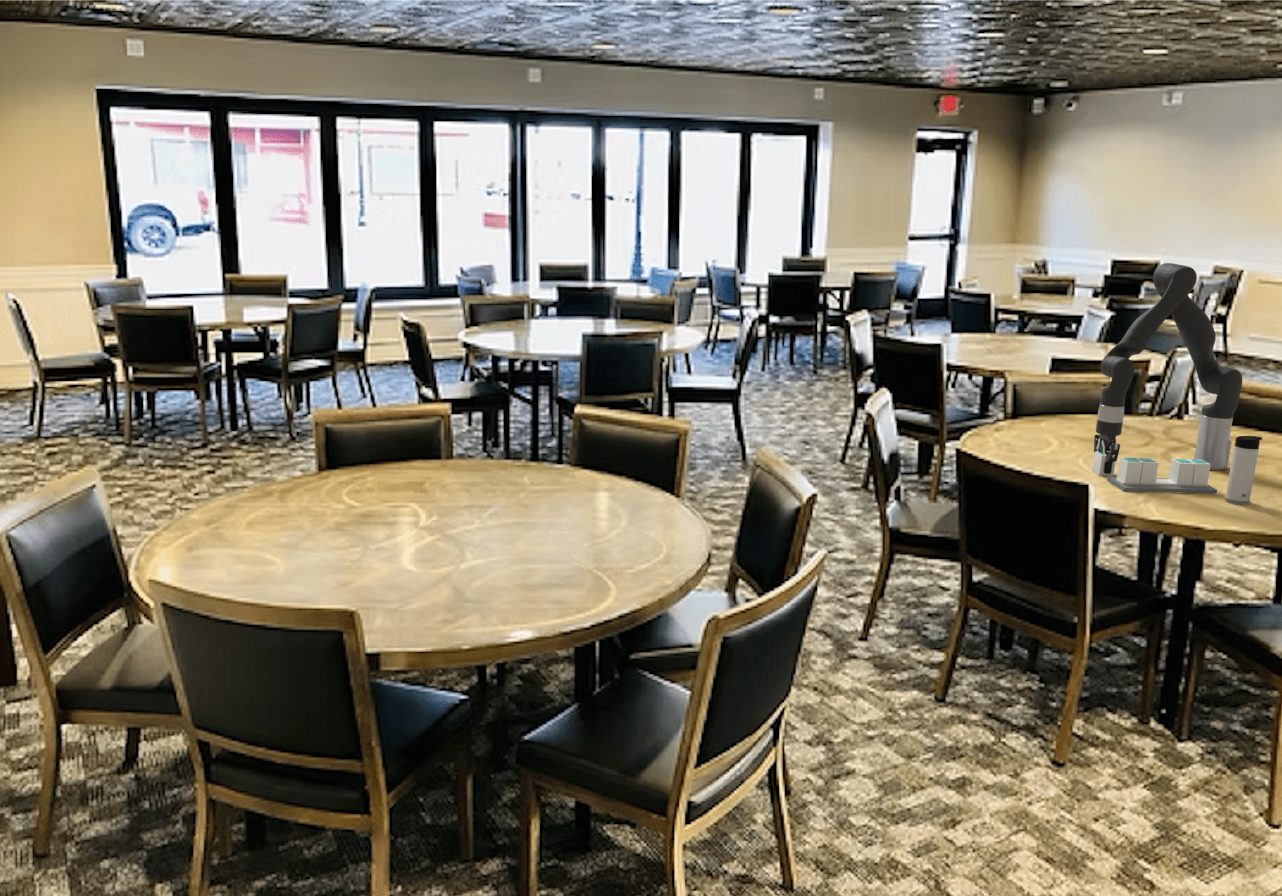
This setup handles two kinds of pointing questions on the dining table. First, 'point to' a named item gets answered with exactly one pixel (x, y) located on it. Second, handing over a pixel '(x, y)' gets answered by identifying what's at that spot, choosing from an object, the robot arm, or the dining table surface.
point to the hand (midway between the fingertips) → (1103, 470)
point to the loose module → (1101, 464)
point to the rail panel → (1181, 478)
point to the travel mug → (1242, 469)
